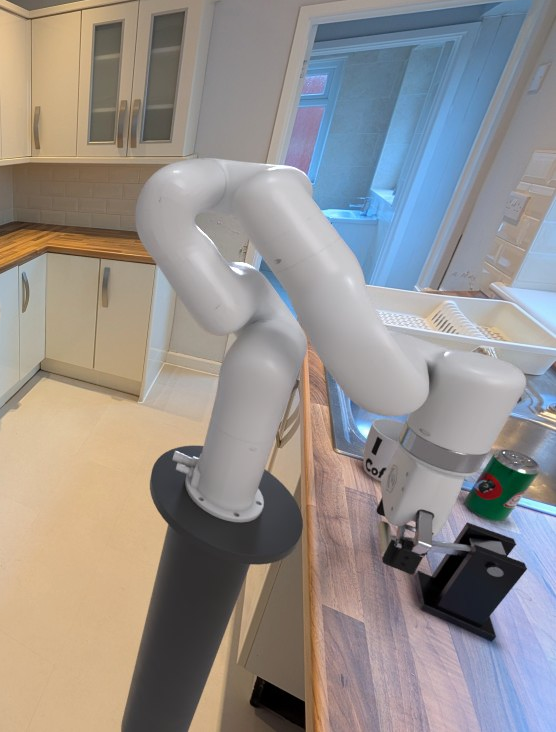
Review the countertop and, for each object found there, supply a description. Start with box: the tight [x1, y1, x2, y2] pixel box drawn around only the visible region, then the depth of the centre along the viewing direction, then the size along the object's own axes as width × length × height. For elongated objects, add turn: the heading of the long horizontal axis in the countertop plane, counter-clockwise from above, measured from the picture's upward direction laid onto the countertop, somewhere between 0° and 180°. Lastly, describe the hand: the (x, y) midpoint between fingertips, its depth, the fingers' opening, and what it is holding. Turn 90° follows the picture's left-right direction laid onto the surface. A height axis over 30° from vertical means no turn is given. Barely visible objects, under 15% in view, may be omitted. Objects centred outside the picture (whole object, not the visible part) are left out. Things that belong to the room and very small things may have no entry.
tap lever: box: [376, 520, 506, 557], centre depth 57 cm, size 12×6×2 cm, turn 54°
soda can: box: [464, 448, 540, 522], centre depth 71 cm, size 5×5×12 cm
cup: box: [362, 417, 406, 482], centre depth 79 cm, size 8×8×10 cm
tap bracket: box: [414, 522, 528, 643], centre depth 56 cm, size 7×6×13 cm
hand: (392, 540), depth 60 cm, fingers open, 9 cm apart
